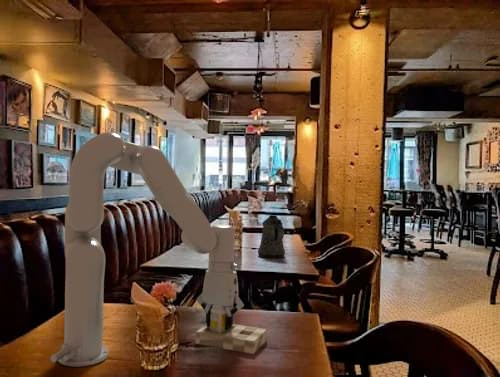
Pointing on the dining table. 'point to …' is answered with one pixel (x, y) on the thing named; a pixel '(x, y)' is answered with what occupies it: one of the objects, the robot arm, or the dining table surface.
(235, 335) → the socket block
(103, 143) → the robot arm
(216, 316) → the supplement bottle
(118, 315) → the dining table surface
